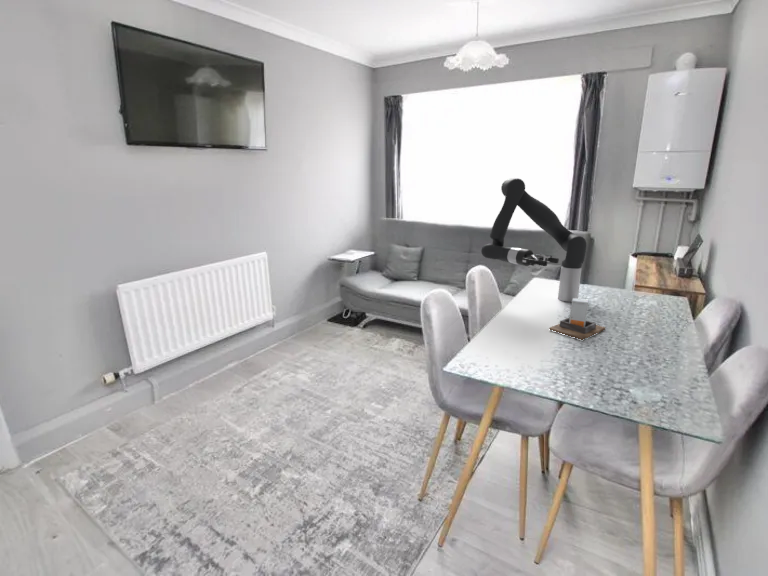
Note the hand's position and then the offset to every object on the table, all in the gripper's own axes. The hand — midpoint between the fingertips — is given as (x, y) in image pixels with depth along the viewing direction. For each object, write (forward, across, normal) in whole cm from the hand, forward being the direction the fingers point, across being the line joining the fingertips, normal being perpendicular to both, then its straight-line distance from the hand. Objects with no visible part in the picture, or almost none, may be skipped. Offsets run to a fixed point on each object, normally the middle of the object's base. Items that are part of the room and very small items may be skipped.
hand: (552, 262), depth 169 cm
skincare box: (+15, -2, +25) cm, 29 cm away
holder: (+15, -2, +26) cm, 30 cm away
